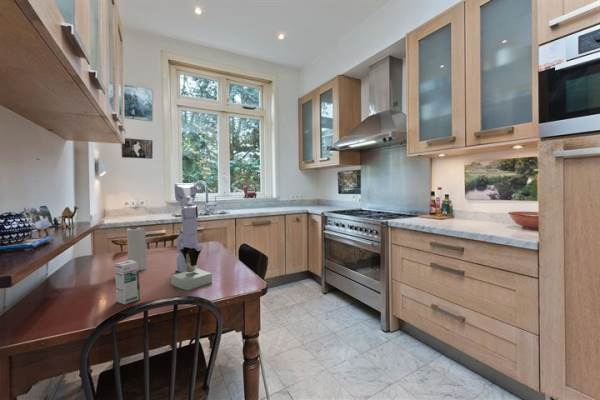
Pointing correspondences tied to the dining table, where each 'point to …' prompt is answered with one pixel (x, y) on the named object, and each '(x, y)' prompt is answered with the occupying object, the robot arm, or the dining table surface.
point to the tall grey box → (137, 246)
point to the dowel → (189, 264)
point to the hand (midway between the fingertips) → (191, 264)
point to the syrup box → (127, 281)
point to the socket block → (191, 279)
